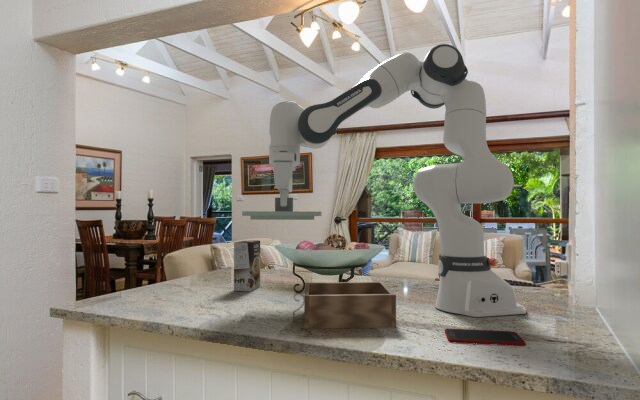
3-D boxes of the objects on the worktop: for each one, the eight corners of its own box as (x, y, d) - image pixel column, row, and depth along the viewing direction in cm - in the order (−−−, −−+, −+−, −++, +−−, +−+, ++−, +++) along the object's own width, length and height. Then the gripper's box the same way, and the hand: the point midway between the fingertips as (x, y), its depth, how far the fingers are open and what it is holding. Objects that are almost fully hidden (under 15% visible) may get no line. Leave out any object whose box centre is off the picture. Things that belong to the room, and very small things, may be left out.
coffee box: (251, 291, 134) (251, 242, 134) (233, 291, 135) (233, 241, 135) (261, 286, 143) (261, 239, 143) (243, 285, 144) (243, 239, 144)
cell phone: (443, 332, 90) (443, 328, 90) (515, 336, 88) (515, 331, 88) (448, 344, 83) (448, 339, 83) (527, 348, 80) (527, 343, 80)
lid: (320, 219, 126) (320, 199, 127) (321, 219, 109) (321, 196, 110) (251, 219, 126) (251, 198, 126) (242, 219, 109) (242, 196, 109)
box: (383, 313, 106) (383, 281, 106) (396, 331, 90) (395, 294, 90) (305, 313, 105) (305, 282, 105) (304, 332, 89) (304, 295, 89)
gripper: (276, 163, 129) (276, 207, 128) (270, 153, 108) (269, 205, 108) (296, 163, 129) (296, 207, 128) (294, 153, 108) (293, 205, 108)
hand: (284, 206), depth 118 cm, fingers closed on lid, 2 cm apart
